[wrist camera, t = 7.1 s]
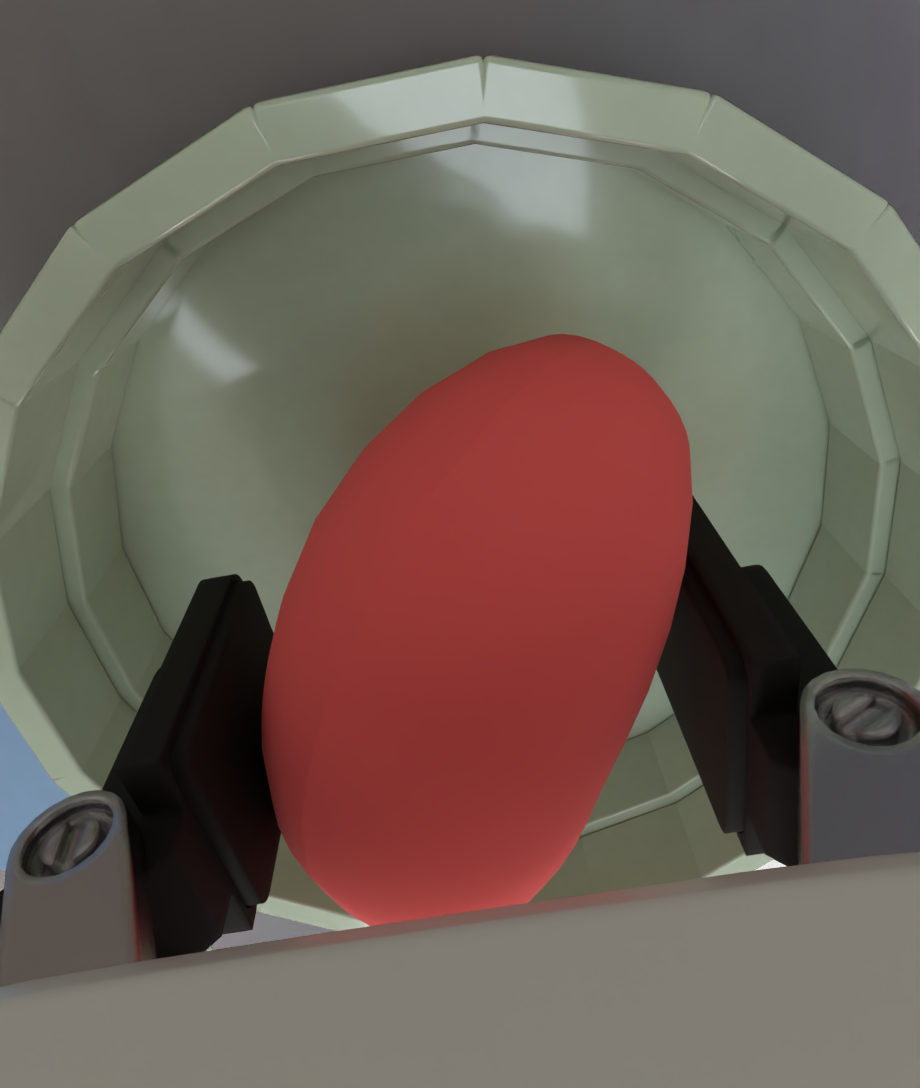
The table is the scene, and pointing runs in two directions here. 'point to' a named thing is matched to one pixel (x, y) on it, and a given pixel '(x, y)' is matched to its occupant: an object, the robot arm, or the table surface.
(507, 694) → the red oval piece
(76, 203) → the table surface
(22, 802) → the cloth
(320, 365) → the bowl
